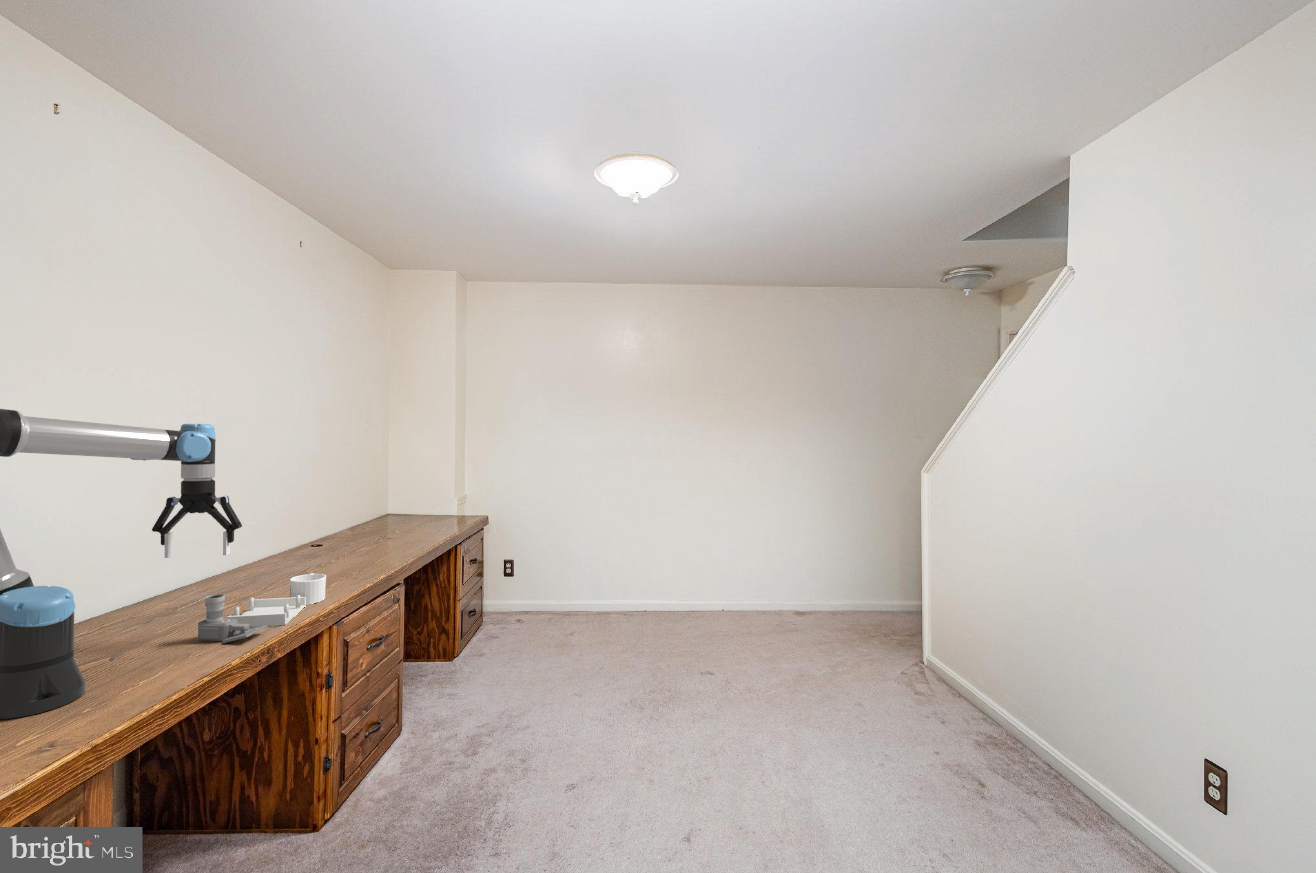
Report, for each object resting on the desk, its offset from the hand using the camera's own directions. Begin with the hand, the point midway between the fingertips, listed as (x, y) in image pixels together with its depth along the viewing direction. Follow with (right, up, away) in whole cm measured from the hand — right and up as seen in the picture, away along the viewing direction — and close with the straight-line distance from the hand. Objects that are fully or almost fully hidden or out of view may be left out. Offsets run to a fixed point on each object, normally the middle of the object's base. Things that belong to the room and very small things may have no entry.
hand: (198, 555), depth 164 cm
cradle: (+8, -22, +17) cm, 29 cm away
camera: (+10, -23, -1) cm, 25 cm away
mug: (+10, -22, +35) cm, 43 cm away
